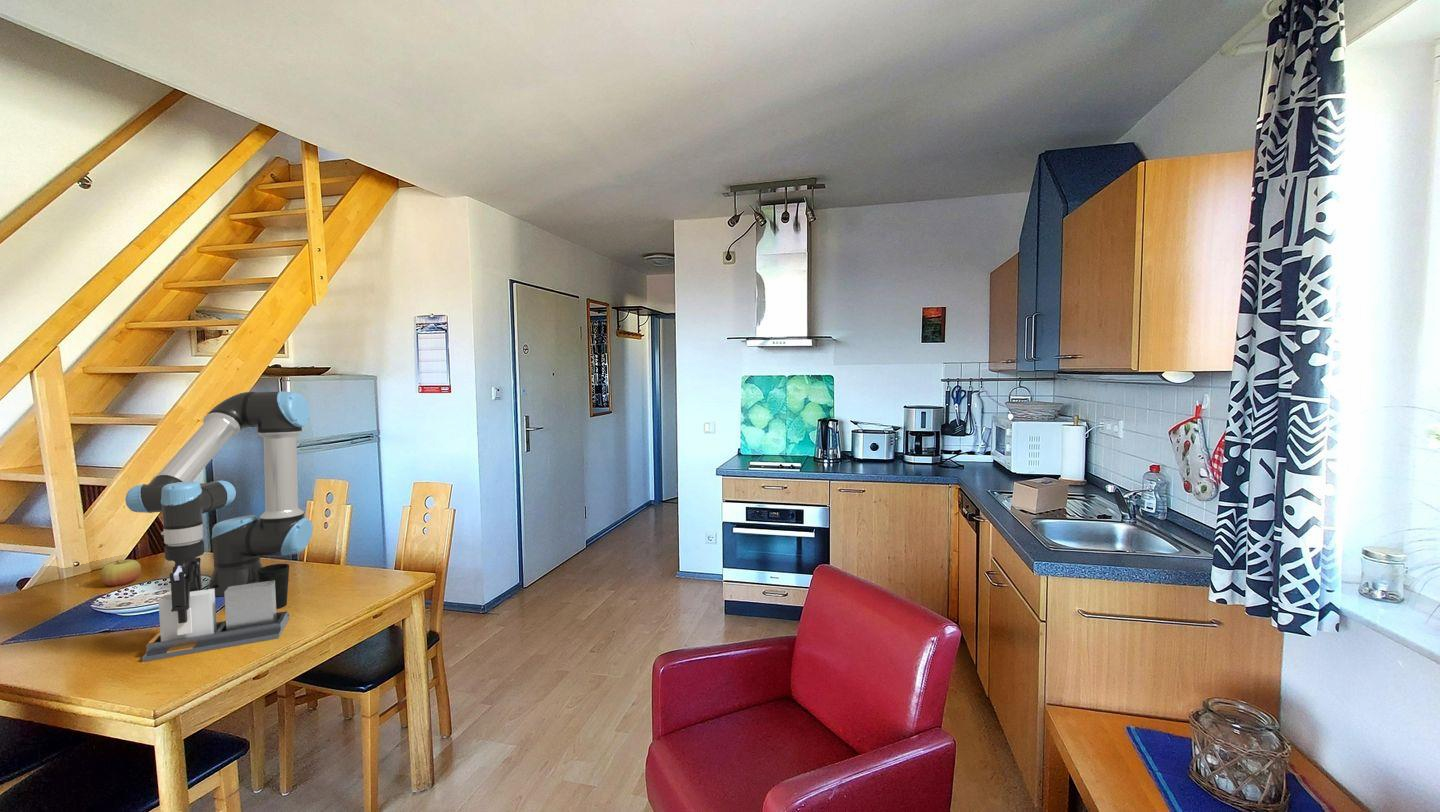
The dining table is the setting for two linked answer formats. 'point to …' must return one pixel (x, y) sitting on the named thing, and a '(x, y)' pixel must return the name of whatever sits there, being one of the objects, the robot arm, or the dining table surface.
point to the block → (200, 612)
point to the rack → (231, 623)
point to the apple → (120, 572)
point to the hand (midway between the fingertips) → (189, 628)
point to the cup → (276, 581)
